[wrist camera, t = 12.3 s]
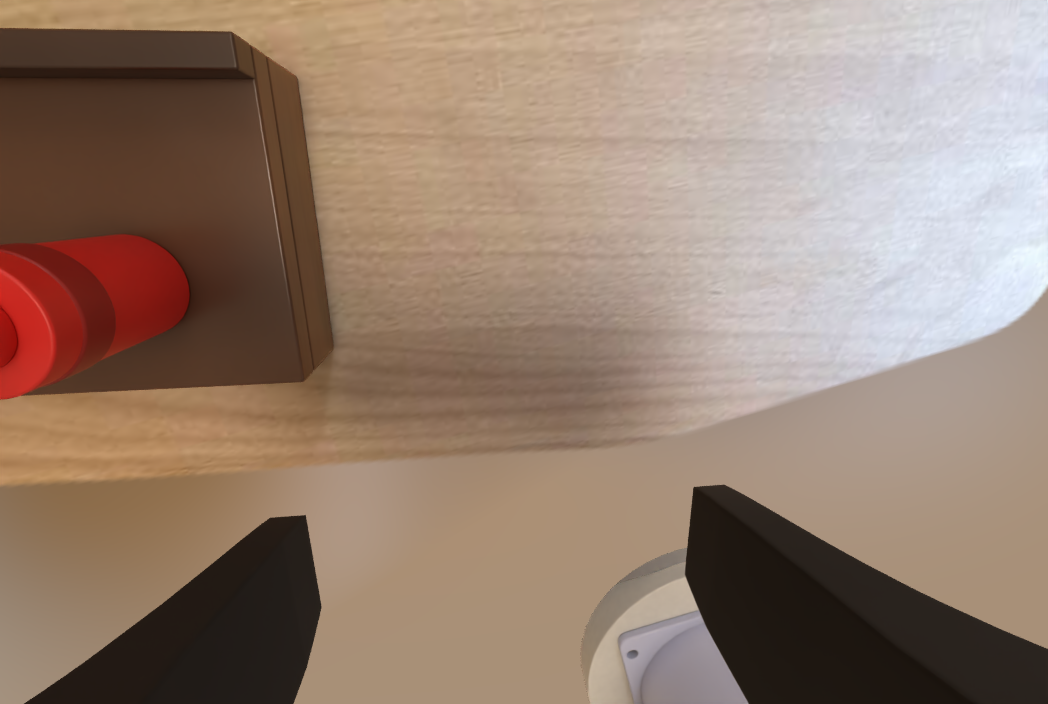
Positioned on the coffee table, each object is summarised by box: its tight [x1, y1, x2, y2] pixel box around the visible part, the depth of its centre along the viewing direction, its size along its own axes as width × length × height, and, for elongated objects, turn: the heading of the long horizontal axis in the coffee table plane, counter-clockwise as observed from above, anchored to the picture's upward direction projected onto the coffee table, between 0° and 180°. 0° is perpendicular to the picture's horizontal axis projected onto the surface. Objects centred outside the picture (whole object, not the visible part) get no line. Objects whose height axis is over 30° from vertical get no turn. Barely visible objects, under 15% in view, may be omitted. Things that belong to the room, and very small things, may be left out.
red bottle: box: [0, 234, 190, 400], centre depth 11 cm, size 3×3×6 cm
